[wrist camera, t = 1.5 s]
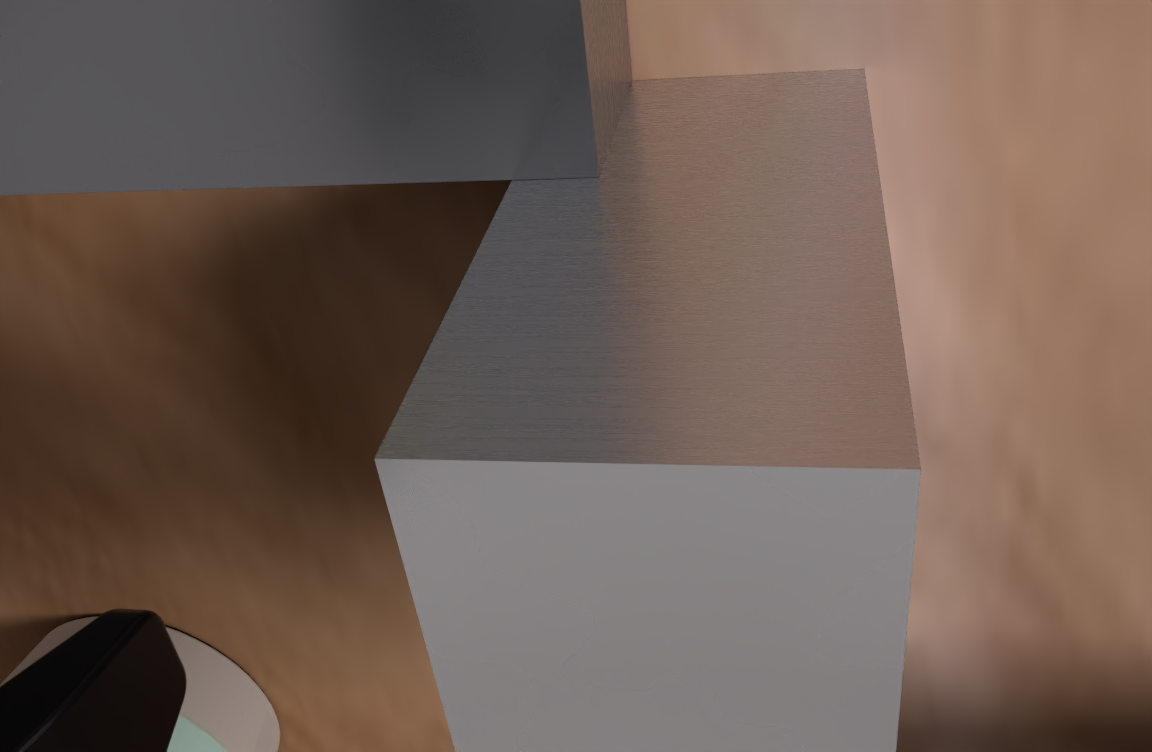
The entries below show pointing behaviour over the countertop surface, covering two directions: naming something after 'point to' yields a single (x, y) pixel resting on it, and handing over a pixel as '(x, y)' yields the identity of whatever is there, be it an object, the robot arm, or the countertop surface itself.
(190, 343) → the countertop surface
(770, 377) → the grey rectangular block
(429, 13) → the gray yellow fixture base
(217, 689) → the coffee cup
